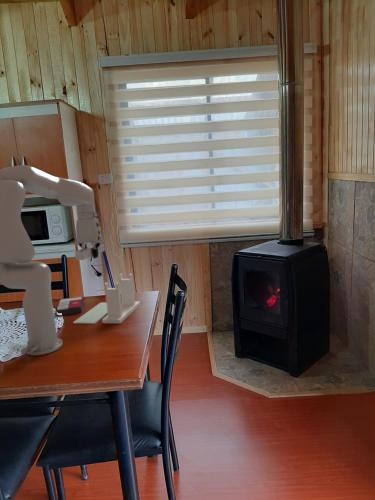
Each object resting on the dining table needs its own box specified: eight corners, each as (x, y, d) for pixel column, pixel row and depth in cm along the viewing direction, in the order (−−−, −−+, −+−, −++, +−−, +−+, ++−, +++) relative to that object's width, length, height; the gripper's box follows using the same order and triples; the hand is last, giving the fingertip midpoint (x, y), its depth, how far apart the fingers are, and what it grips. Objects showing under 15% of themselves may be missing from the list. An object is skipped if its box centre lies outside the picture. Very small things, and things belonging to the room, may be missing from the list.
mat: (94, 324, 150) (94, 322, 150) (73, 323, 152) (72, 322, 152) (119, 303, 175) (119, 302, 175) (101, 303, 177) (100, 302, 177)
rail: (83, 259, 149) (82, 251, 149) (75, 260, 150) (74, 251, 149) (104, 250, 168) (104, 243, 168) (98, 251, 169) (97, 243, 168)
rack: (120, 323, 148) (116, 285, 146) (102, 323, 150) (97, 286, 147) (140, 304, 171) (137, 271, 169) (124, 304, 173) (121, 271, 170)
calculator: (55, 309, 163) (59, 298, 177) (56, 318, 164) (60, 306, 178) (80, 306, 165) (82, 295, 179) (81, 314, 166) (83, 303, 180)
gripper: (107, 214, 158) (112, 255, 161) (73, 216, 162) (78, 256, 165) (99, 216, 151) (104, 259, 154) (64, 218, 154) (70, 260, 158)
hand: (91, 257), depth 159 cm, fingers closed on rail, 3 cm apart
